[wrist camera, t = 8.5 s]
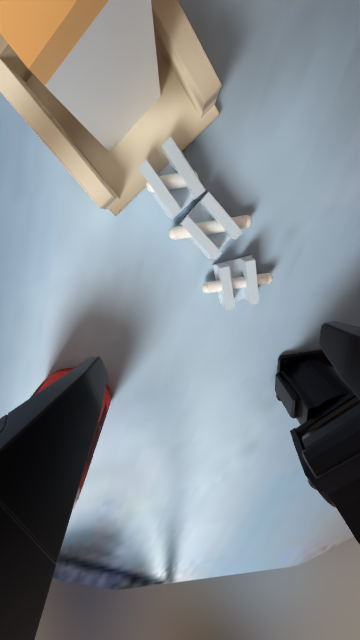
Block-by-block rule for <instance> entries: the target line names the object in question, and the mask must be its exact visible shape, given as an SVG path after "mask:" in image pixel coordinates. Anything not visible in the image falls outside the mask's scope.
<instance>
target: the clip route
mask: <svg viewBox="0 0 360 640" xmlns="http://www.w3.org/2000/svg"><path fill="white" fill-rule="evenodd" d="M162 151H163V153H164V154H165V156H166V157H167V159H168V160H169V162H170V163H169V164H168V165H167V166H166V167H164V168H163V169H162V170H161V171H160V172H159V173H158V174H156V173H155V171H154V170H153V168H152V167H151V166H150V164H149V163H148V161H147V160H145V161H144V162H143V163H142V164H141V165H140V166H139V167H138V169H139V171H140V172H141V173H142V175H143V176H144V177H145V179H146V180H147V183H146V187H147V189H148V190H149V191H150V193H151V194H152V196H153V197H154V198H155V200H156V201H157V202H158V204H159V205H160V206H161V208H162V209H163V210H164V212H165V213H166V214H167V216H168V217H169V218H170V220H172V219H173V218H174V217H175V216H176V215H177V214H179V213H180V212H181V211H182V210H183V209H184V208H185V207H186V206H188V205H189V204H190V203H191V202H192V201H193V200H195V199H196V198H198V197H199V196H200V195H201V194H202V193H203V192H204V191H205V190H206V189H205V187H204V186H203V184H202V183H201V181H200V179H199V178H198V174H197V173H196V172H195V171H194V170H193V169H192V167H191V165H190V164H189V162H188V161H187V159H186V158H185V156H184V155H183V153H182V151H181V152H180V150H179V148H178V147H177V145H176V144H175V142H174V141H173V139H172V138H171V137H170V138H169V139H168V140H167V141H166V142H165V143H164V144H163V145H162ZM251 223H252V219H251V217H250V216H249V215H243V216H236V217H230V216H229V215H228V213H227V212H226V211H225V210H224V209H223V207H222V206H221V205H220V204H219V203H218V201H217V200H216V199H215V198H214V197H213V196H212V194H211V193H210V192H209V191H208V192H207V193H206V194H205V195H204V196H203V197H202V198H201V200H200V201H199V202H198V203H197V204H196V205H195V206H194V208H193V209H192V210H191V211H190V212H189V213H188V214H187V216H186V217H185V218H184V219H183V220H182V221H181V222H180V224H179V225H178V226H176V227H172V228H171V229H170V230H169V236H170V238H171V239H173V240H176V239H183V238H189V239H190V240H191V241H192V242H193V243H194V244H195V245H196V246H197V247H198V248H199V249H200V250H201V251H202V252H203V253H204V254H205V255H206V256H207V258H208V259H209V260H210V259H211V257H212V258H213V259H214V260H216V259H217V258H218V257H219V256H220V255H221V254H222V252H221V251H220V250H219V249H220V248H221V247H222V246H223V245H224V244H225V243H226V242H227V241H228V240H229V239H230V238H231V239H234V240H236V239H237V238H238V237H239V236H240V235H241V234H242V233H243V232H242V231H241V229H244V228H248V227H249V226H250V225H251ZM213 270H214V276H215V281H211V282H206V283H204V284H203V285H202V290H203V291H204V292H205V293H211V292H217V293H218V299H219V304H220V305H224V307H225V309H226V310H227V311H228V310H232V309H235V303H234V302H236V301H240V300H244V299H246V301H247V302H248V303H249V304H250V305H253V304H258V303H259V295H258V285H263V284H269V283H271V282H272V280H273V276H272V275H271V274H270V273H263V274H257V273H256V262H255V259H253V256H252V255H249V256H245V257H241V258H237V259H233V260H229V261H225V262H221V263H217V264H213Z"/></svg>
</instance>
